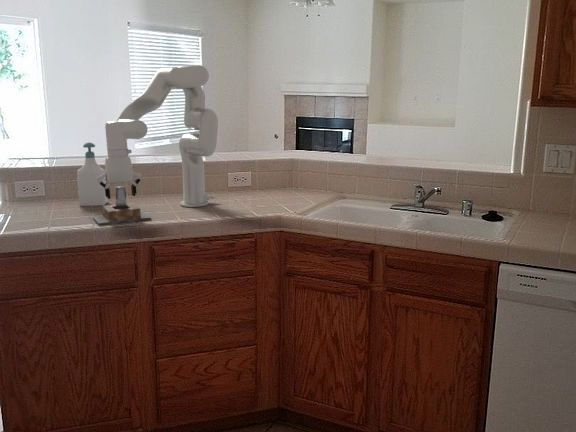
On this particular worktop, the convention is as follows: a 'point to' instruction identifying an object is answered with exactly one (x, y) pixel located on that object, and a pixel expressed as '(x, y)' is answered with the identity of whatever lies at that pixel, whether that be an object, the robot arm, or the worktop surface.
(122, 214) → the docking mount
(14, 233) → the worktop surface
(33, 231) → the worktop surface
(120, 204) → the grey metallic cylinder
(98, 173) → the soap bottle
